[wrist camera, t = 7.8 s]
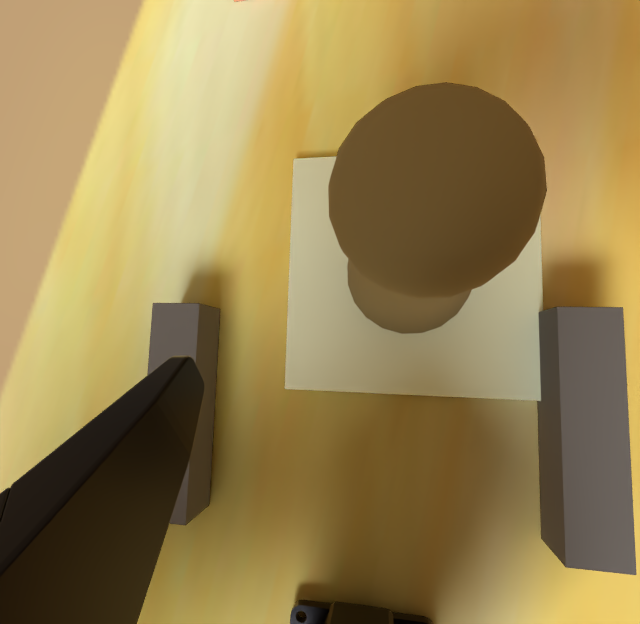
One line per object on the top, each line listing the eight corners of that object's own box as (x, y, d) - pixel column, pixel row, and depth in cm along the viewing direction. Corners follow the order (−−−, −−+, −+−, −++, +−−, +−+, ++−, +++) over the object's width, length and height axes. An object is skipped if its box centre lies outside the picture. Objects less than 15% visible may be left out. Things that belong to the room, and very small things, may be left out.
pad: (542, 400, 18) (545, 401, 17) (286, 388, 20) (284, 389, 19) (535, 150, 19) (538, 145, 19) (295, 162, 21) (293, 158, 21)
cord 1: (601, 544, 17) (636, 575, 15) (541, 538, 17) (565, 567, 15) (591, 313, 18) (622, 307, 16) (535, 312, 18) (557, 306, 16)
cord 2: (209, 504, 20) (185, 525, 18) (165, 500, 20) (136, 519, 18) (220, 309, 21) (199, 303, 19) (178, 308, 21) (153, 302, 19)
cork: (359, 344, 19) (324, 330, 8) (336, 227, 20) (279, 76, 9) (487, 321, 18) (634, 272, 7) (458, 199, 19) (553, -4, 8)
